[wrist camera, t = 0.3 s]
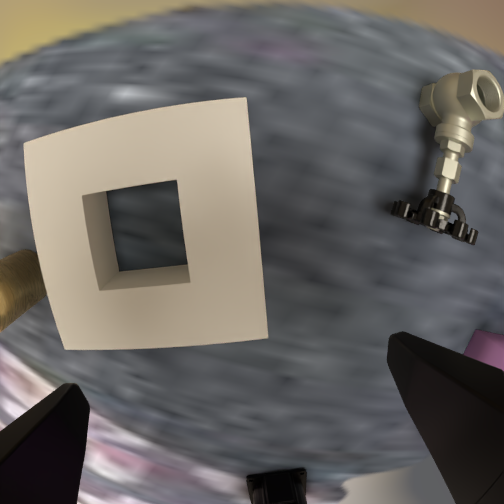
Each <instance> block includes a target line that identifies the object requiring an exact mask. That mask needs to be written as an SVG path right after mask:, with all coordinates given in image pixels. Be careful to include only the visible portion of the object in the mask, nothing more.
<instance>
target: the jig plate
mask: <svg viewBox="0 0 504 504" xmlns="http://www.w3.org/2000/svg"><path fill="white" fill-rule="evenodd" d="M24 158H25V172H26V182H27V192H28V200H29V207H30V214H31V221H32V227H33V233H34V238H35V243H36V248H37V253H38V258H39V262H40V267H41V271H42V275H43V279H44V283H45V287H46V291H47V295H48V298H49V302H50V305H51V309H52V312H53V315H54V318H55V322H56V325H57V328H58V331H59V334H60V337H61V340H62V342H63V345H64V348H65V350H115V349H145V348H165V347H181V346H195V345H207V344H218V343H229V342H239V341H248V340H257V339H265V338H268V329H267V317H266V305H265V294H264V282H263V271H262V259H261V248H260V237H259V226H258V215H257V204H256V193H255V182H254V172H253V161H252V151H251V140H250V130H249V120H248V110H247V99H246V97H244V98H232V99H222V100H212V101H204V102H196V103H188V104H181V105H175V106H169V107H163V108H157V109H151V110H146V111H141V112H136V113H131V114H126V115H121V116H117V117H112V118H108V119H104V120H100V121H96V122H92V123H88V124H84V125H81V126H77V127H73V128H70V129H66V130H63V131H60V132H56V133H53V134H50V135H47V136H44V137H41V138H38V139H35V140H32V141H29V142H26V143H24ZM172 180H177V184H178V193H179V202H180V210H181V218H182V226H183V233H184V240H185V248H186V254H187V261H188V264H187V265H178V266H168V267H159V268H149V269H139V270H130V271H120V272H119V267H118V262H117V257H116V252H115V246H114V240H113V234H112V228H111V222H110V215H109V208H108V201H107V193H106V191H109V190H115V189H121V188H127V187H133V186H139V185H145V184H152V183H158V182H165V181H172Z"/></svg>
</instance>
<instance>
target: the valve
mask: <svg viewBox="0 0 504 504" xmlns="http://www.w3.org/2000/svg"><path fill="white" fill-rule="evenodd" d="M419 108H420V110H421V111H422V113H423V114H424V115H425V117H426V118H427V120H428V121H429V122H430V124H431V125H432V126H433V127H434V126H436V131H435V136H434V139H435V141H436V142H437V143H439V144H440V150H441V151H442V152H443V153H444V154H443V157H438V158H437V162H436V167H435V171H434V175H435V177H436V178H438V179H439V181H438V185H437V189H436V190H435V189H430V190H429V193H428V196H427V197H425V198H424V199H423V200H422V201H421V202H420V204H419V206H418V210H417V211H416V210H414V209H411V208H410V206H411V204H410V203H407V202H404V201H401V200H399V201H398V202H396V201H394V204H393V207H392V210H391V215H393V216H396V217H399V218H402V219H406V221H408V222H411V223H414V224H417V225H419V224H421V225H424V226H426V227H427V228H430V230H432V231H435V232H437V233H440V234H443V233H445V234H448V235H450V236H452V238H454V239H456V240H459V241H461V242H466V243H468V244H471V245H475V242H476V239H477V235H478V231H477V230H475V229H472V228H471V230H470V233H469V234H467V232H468V224H466V218H465V214H464V212H463V210H462V209H461V208H460V207H459V206H458V205H456V204H454V200H455V198H454V197H453V196H451V195H449V193H450V189H451V184H457V183H458V181H459V177H460V172H461V167H462V166H461V165H460V164H459V163H458V158H462V157H464V153H469V152H471V151H472V148H473V143H474V136H473V135H472V134H471V128H472V127H473V126H475V125H477V124H479V123H480V122H481V121H482V120H491V119H500V118H502V116H503V112H504V94H503V92H502V89H501V87H500V85H499V83H498V82H497V80H496V79H495V77H494V76H493V75H492V74H491V73H490V71H486V70H470V71H467V72H464V73H450V74H447V75H445V76H443V77H442V78H441V79H439V80H438V82H437V83H432V84H430V85H427V86H424V87H422V91H421V97H420V103H419ZM451 212H454V213H455V214H457V216H458V220H455V221H454V224H452V223H449V222H447V221H448V219H450V215H451ZM447 218H448V219H447Z"/></svg>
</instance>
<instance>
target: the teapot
mask: <svg viewBox="0 0 504 504" xmlns="http://www.w3.org/2000/svg"><path fill="white" fill-rule="evenodd" d="M463 355H465V356H468V357H471V358H473V359H476V360H478V361H481V362H484V363H486V364H489V365H491V366H494V367H497V368H499V369H502V370H503V371H504V335H501V334H496V333H491V332H486V331H481V330H477V329H475V332H474V334H473V336H472V338H471V340H470V342H469V344H468V346H467V348H466V350H465V352H464V354H463Z"/></svg>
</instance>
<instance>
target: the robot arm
mask: <svg viewBox="0 0 504 504" xmlns="http://www.w3.org/2000/svg"><path fill="white" fill-rule="evenodd" d="M387 363H388V366H389V369H390V371H391V373H392V376H393V378H394V380H395V383H396V385H397V388H398V390H399V392H400V395H401V397H402V400H403V402H404V404H405V407H406V409H407V411H408V413H409V414H410V416H411V418H412V420H413V422H414V423H415V425H416V427H417V429H418V431H419V433H420V434H421V436H422V438H423V440H424V442H425V444H426V446H427V448H428V449H429V451H430V453H431V455H432V457H433V459H434V461H435V463H436V465H437V467H438V469H439V470H440V472H441V475H442V477H443V479H444V481H445V483H446V485H447V487H448V489H449V491H450V493H451V495H452V497H453V499H454V501H455V503H456V504H504V371H503V370H502V369H499V368H497V367H494V366H491V365H489V364H486V363H484V362H481V361H478V360H476V359H473V358H471V357H468V356H465V355H463V354H460V353H458V352H455V351H452V350H450V349H447V348H445V347H442V346H440V345H437V344H435V343H432V342H429V341H427V340H424V339H422V338H419V337H417V336H414V335H412V334H409V333H407V332H403V331H402V332H398V333H395V334H392V335H391V336H390V337H389V342H388V352H387ZM89 414H90V406H89V403H88V401H87V399H86V398H85V396H84V394H83V392H82V391H81V389H80V387H79V386H78V385H77V384H75V383H65V384H63V385H61V386H60V387H59V388H57V389H56V390H55V391H53V392H52V393H51V394H49V395H48V396H47V397H45V398H44V399H43V400H41V401H40V402H39V403H37V404H36V405H35V406H33V407H32V408H31V409H29V410H28V411H27V412H25V413H24V414H23V415H21V416H20V417H19V418H17V419H16V420H15V421H13V422H12V423H11V424H9V425H8V426H7V427H5V428H4V429H3V430H1V431H0V504H77V499H78V492H79V485H80V479H81V474H82V468H83V462H84V457H85V451H86V442H87V431H88V422H89ZM306 477H307V472H306V469H297V470H291V471H284V472H277V473H269V474H261V475H251V476H247V477H246V482H247V486H248V491H249V495H250V500H251V503H252V504H307V501H306V497H305V496H306Z"/></svg>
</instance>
